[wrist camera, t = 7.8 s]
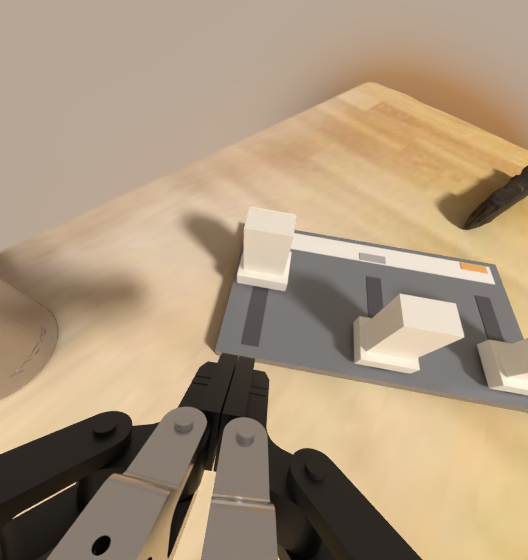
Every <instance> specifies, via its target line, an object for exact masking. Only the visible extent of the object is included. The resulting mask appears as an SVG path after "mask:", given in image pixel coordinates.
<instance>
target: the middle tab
mask: <svg viewBox="0 0 528 560" xmlns="http://www.w3.org/2000/svg"><path fill="white" fill-rule="evenodd" d="M353 328H354V364H360V365H365V366H371V367H376V368H382V369H387V370H392V371H398V372H403V373H409V374H411V373H413V372H416V371H419V370H420V367H419V361H418V358H419V357H421V356H423V355H425V354H428V353H430V352H432V351H435V350H437V349H439V348H441V347H444V346H446V345H448V344H451V343H453V342H455V341H457V340H460V339H462V338H464V333H463V329H462V325H461V321H460V317H459V313H458V310H457V306H456V303H450V302H444V301H439V300H433V299H427V298H422V297H416V296H411V295H405V294H399V295H397V296H396V297H395V298H394V299H393V300H392V301H391V302H390V303H389V304H387V305H386V306H385V307H384V308H383V309H382V310H381V311H380V312H379V313H377V314H376V315H375V316H374V317H373V318H367V317H362V316H359V317H358V318H357V319H356V320H355V321H354V322H353Z"/></svg>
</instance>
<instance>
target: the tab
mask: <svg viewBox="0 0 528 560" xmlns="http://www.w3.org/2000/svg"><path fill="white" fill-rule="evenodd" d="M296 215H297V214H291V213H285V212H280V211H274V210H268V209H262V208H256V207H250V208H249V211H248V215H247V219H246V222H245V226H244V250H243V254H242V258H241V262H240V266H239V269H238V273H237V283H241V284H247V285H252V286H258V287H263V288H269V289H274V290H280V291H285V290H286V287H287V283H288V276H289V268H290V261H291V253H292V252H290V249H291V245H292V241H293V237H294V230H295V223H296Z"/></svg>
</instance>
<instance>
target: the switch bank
mask: <svg viewBox="0 0 528 560" xmlns="http://www.w3.org/2000/svg"><path fill="white" fill-rule="evenodd" d="M243 250H244V243H243V247H242V251H241V254H240V258H239V262H238V266H237V269H236V273H235V277H234V281H233V284H232V288H231V292H230V296H229V299H228V303H227V307H226V311H225V314H224V318H223V322H222V326H221V329H220V333H219V337H218V341H217V344H216V348H215V352H216V355H220V356H221V354H222V352H224V353H229V354H235V355H238V358H239V355H241V356H246V357H252V358H255V362H258V363H263V364H269V365H274V366H279V367H285V368H290V369H296V370H301V371H306V372H312V373H317V374H323V375H328V376H333V377H339V378H344V379H349V380H355V381H360V382H366V383H371V384H376V385H382V386H387V387H392V388H398V389H403V390H409V391H414V392H419V393H425V394H430V395H435V396H441V397H446V398H452V399H457V400H462V401H468V402H473V403H478V404H484V405H489V406H495V407H500V408H505V409H511V410H516V411H521V412H527V413H528V395H522V394H517V393H512V392H506V391H501V390H495V389H490V388H489V387H488V383H487V380H486V376H485V373H484V369H483V365H482V362H481V358H480V355H479V351H478V347H477V344H479V343H482V342H484V341H487V340H495V341H500V342H506V343H515V342H518V341H521V340H524V339H523V336H522V333H521V331H520V328H519V326H518V323H517V320H516V318H515V315H514V313H513V310H512V307H511V305H510V302H509V299H508V297H507V294H506V292H505V289H504V286H503V284H502V281H501V279H500V276H499V273H498V271H497V268H496V265H494V264H488V263H482V262H476V261H471V260H465V259H459V258H453V257H447V256H442V255H436V254H430V253H424V252H419V251H413V250H407V249H401V248H396V247H390V246H384V245H378V244H372V243H367V242H361V241H355V240H349V239H344V238H338V237H332V236H326V235H321V234H315V233H309V232H303V231H297V230H294V237H293V241H292V245H291V249H290V252H292V253H291V261H290V268H289V276H288V283H287V287H286V290H285V291H280V290H274V289H269V288H263V287H258V286H252V285H247V284H241V283H237V273H238V269H239V266H240V262H241V258H242V254H243ZM399 294H405V295H411V296H416V297H422V298H427V299H433V300H439V301H444V302H450V303H456V306H457V310H458V313H459V317H460V321H461V325H462V329H463V333H464V338H462V339H460V340H457V341H455V342H453V343H451V344H448V345H446V346H444V347H441V348H439V349H437V350H435V351H432V352H430V353H428V354H425V355H423V356H421V357H419V358H418V361H419V367H420V370H419V371H416V372H413V373H411V374H409V373H403V372H398V371H392V370H387V369H382V368H376V367H371V366H365V365H360V364H354V328H353V322H354V321H355V320H356V319H357V318H358V317H359V316H362V317H367V318H373V317H374V316H375V315H376V314H377V313H379V312H380V311H381V310H382V309H383V308H384V307H385V306H386V305H387V304H389V303H390V302H391V301H392V300H393V299H394V298H395V297H396V296H397V295H399Z"/></svg>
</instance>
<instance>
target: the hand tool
mask: <svg viewBox="0 0 528 560" xmlns="http://www.w3.org/2000/svg"><path fill="white" fill-rule="evenodd" d="M527 196H528V166H526V167H525V168H524V169H523V170H522V173H521V174H520V175H516V176H514V177H512V178H511V179H510V181H509V183H508V184H507V185H505V186H504V187H503V188H501V189H498V190H497V191H495V192H494V193H493V194H492V195H490V196H489V197H488V198H487V199H486V200H485V201H484V202H483V203H481V204H480V205H479V206H478V207H477V209H476V210H475V211H474V212H473V213H472V214H471V215H470V217H469V218H468V220H467V222H466V224H465V226H464V229H466V230H467V229H468V230H469V229H473V228H477V227H480V226H482V225H484V224H487V223H489V222H491V221H492V220H493V219H494V218H495V217H497V216H498V215H500V214H501V213H503V212H504V211H506V210H507V209H509V208H510V207H512V206H513V205H514V204H516V203H517V202H518V201H520V200H522V199H524V198H525V197H527ZM470 224H471V225H470Z"/></svg>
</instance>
